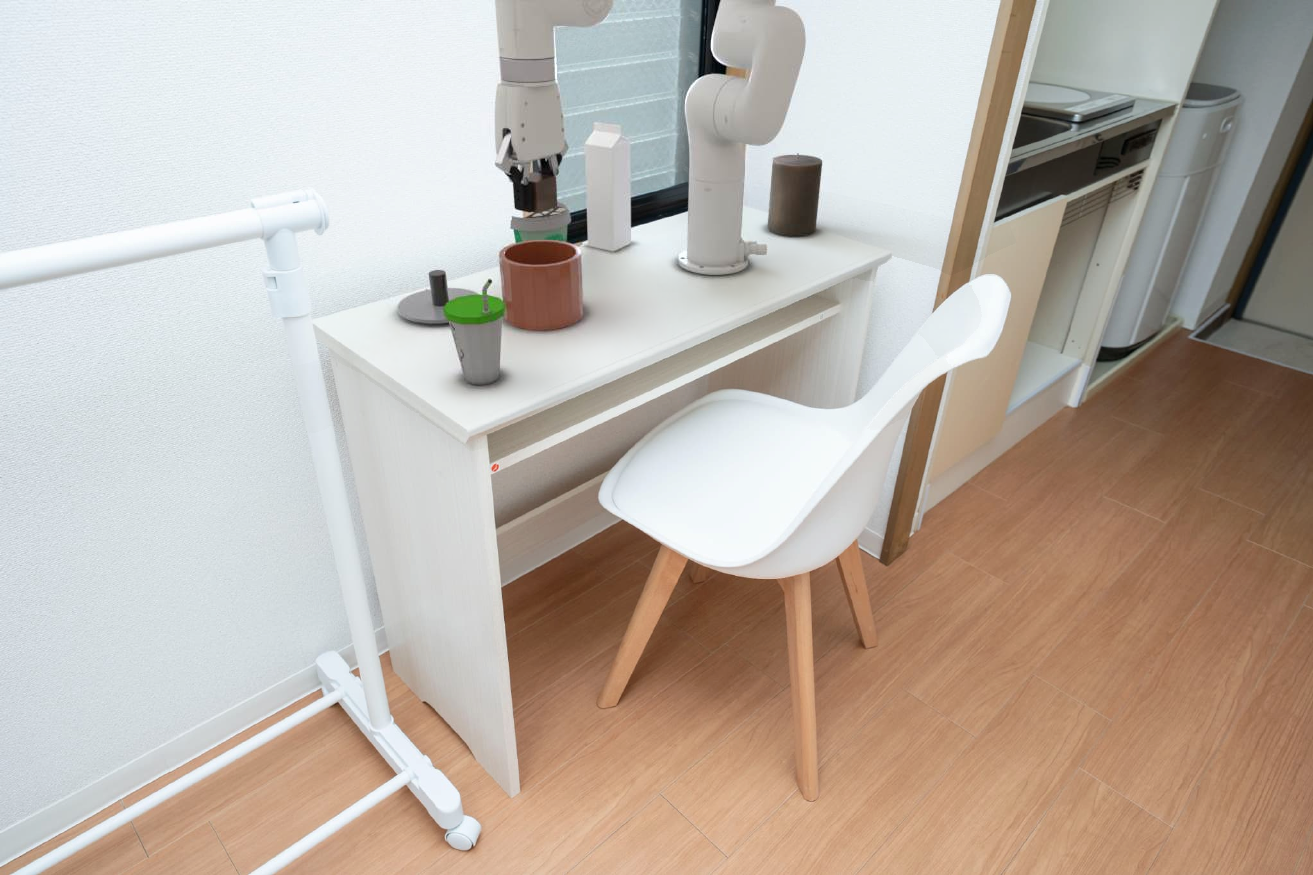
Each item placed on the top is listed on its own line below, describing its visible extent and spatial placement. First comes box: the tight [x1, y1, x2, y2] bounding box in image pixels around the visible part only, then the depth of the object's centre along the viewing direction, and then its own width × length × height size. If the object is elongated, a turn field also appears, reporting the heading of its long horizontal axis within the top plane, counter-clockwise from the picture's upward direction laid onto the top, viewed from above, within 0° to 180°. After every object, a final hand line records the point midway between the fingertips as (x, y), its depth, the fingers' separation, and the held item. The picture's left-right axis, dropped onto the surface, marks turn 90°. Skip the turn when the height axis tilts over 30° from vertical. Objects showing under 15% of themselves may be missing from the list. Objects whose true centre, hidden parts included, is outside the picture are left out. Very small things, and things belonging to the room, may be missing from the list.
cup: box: [443, 278, 506, 386], centre depth 110 cm, size 8×8×15 cm
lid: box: [397, 269, 481, 324], centre depth 132 cm, size 13×13×6 cm
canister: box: [498, 240, 584, 331], centre depth 130 cm, size 12×12×10 cm
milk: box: [584, 121, 632, 252], centre depth 156 cm, size 6×6×22 cm
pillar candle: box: [767, 152, 823, 237], centre depth 167 cm, size 10×10×15 cm
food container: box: [509, 201, 572, 243], centre depth 148 cm, size 12×6×10 cm, turn 143°
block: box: [529, 171, 558, 213], centre depth 122 cm, size 4×4×4 cm
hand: (536, 205), depth 123 cm, fingers closed on block, 4 cm apart
